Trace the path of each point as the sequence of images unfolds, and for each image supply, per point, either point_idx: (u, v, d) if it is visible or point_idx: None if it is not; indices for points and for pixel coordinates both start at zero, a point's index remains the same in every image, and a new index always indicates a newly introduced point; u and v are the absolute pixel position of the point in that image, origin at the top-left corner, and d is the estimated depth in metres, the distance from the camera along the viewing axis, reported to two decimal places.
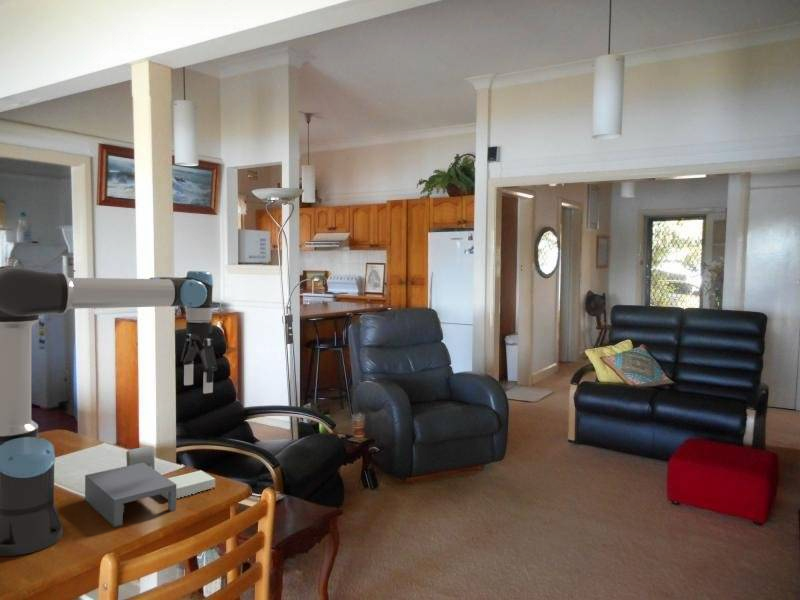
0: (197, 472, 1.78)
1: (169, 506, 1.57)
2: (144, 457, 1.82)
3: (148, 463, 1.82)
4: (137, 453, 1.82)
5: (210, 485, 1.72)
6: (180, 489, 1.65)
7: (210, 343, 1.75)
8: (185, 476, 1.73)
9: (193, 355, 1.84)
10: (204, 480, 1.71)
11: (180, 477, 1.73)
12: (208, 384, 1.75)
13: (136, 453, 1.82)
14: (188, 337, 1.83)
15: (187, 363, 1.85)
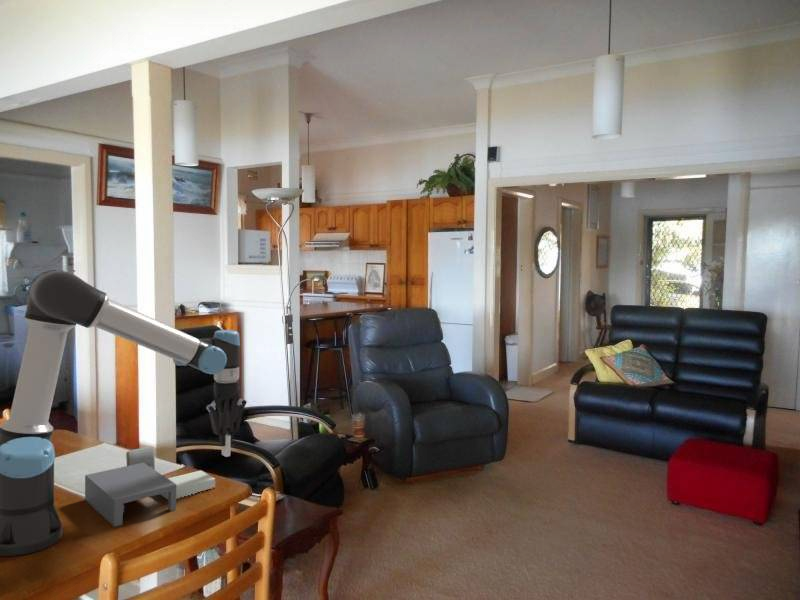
0: (197, 472, 1.78)
1: (169, 506, 1.57)
2: (144, 458, 1.81)
3: (148, 464, 1.81)
4: (137, 454, 1.81)
5: (210, 485, 1.72)
6: (180, 489, 1.65)
7: (210, 411, 1.74)
8: (185, 476, 1.73)
9: (229, 420, 1.79)
10: (204, 480, 1.71)
11: (180, 477, 1.73)
12: (223, 447, 1.79)
13: (136, 453, 1.81)
14: None
15: (227, 433, 1.80)
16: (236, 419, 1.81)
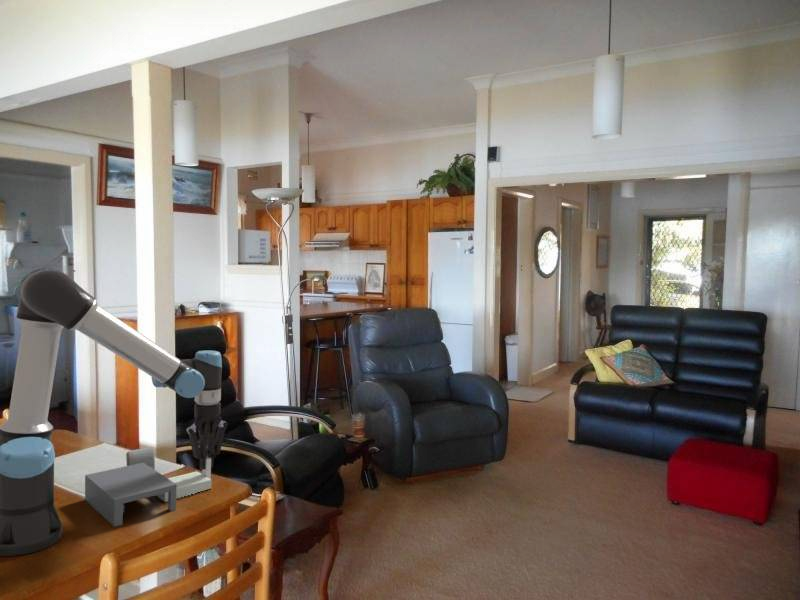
0: (193, 473, 1.77)
1: (169, 506, 1.57)
2: (144, 458, 1.81)
3: (148, 464, 1.81)
4: (137, 455, 1.81)
5: (206, 486, 1.71)
6: (176, 490, 1.64)
7: (190, 434, 1.70)
8: (181, 477, 1.72)
9: (209, 443, 1.75)
10: (200, 481, 1.70)
11: (176, 478, 1.72)
12: (204, 470, 1.75)
13: (136, 454, 1.81)
14: None
15: (208, 455, 1.76)
16: (217, 442, 1.77)
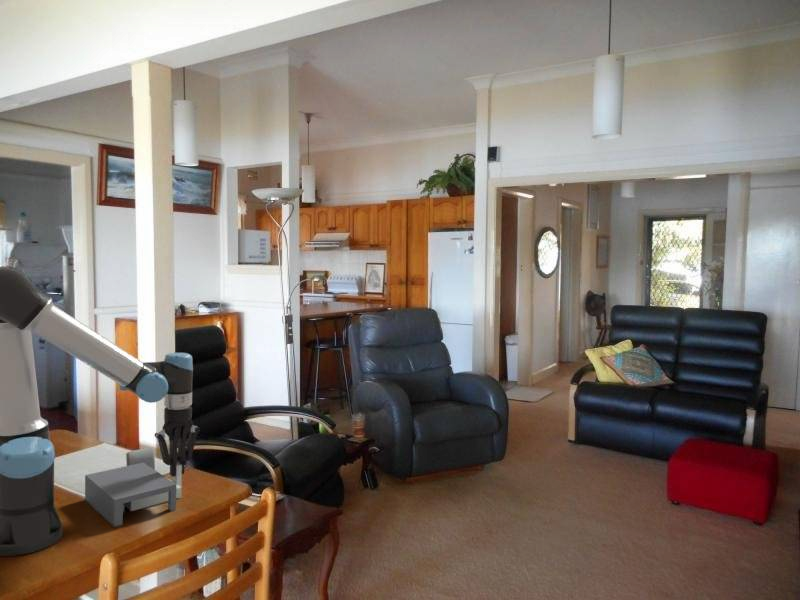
0: None
1: (169, 506, 1.57)
2: (144, 459, 1.80)
3: (148, 465, 1.81)
4: (137, 455, 1.80)
5: (176, 494, 1.64)
6: (143, 499, 1.58)
7: (159, 439, 1.64)
8: None
9: (180, 449, 1.69)
10: None
11: None
12: (174, 477, 1.68)
13: (136, 454, 1.80)
14: None
15: (179, 462, 1.69)
16: (188, 447, 1.70)
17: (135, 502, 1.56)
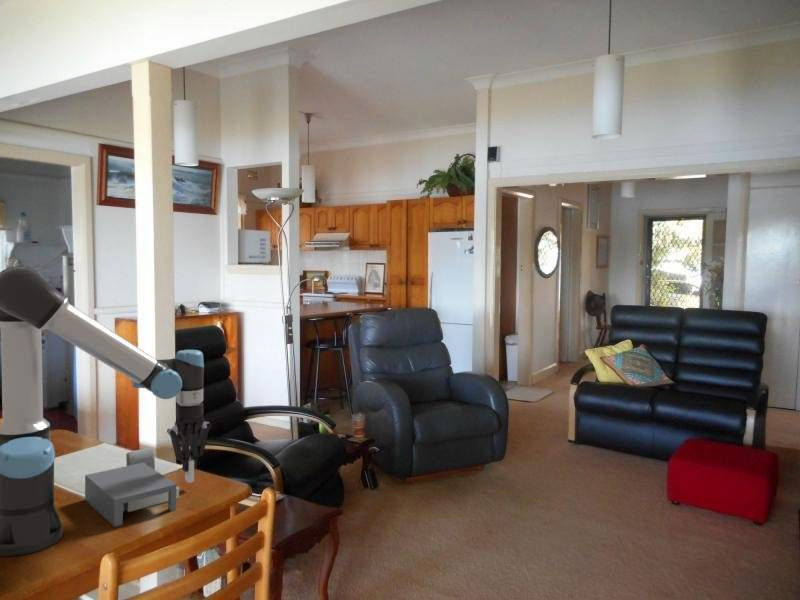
0: None
1: (169, 506, 1.57)
2: (144, 459, 1.80)
3: (148, 465, 1.80)
4: (137, 455, 1.80)
5: None
6: (140, 499, 1.57)
7: (171, 435, 1.66)
8: None
9: (192, 444, 1.71)
10: None
11: None
12: (187, 473, 1.71)
13: (136, 455, 1.80)
14: None
15: (191, 457, 1.72)
16: (200, 443, 1.73)
17: (132, 503, 1.56)
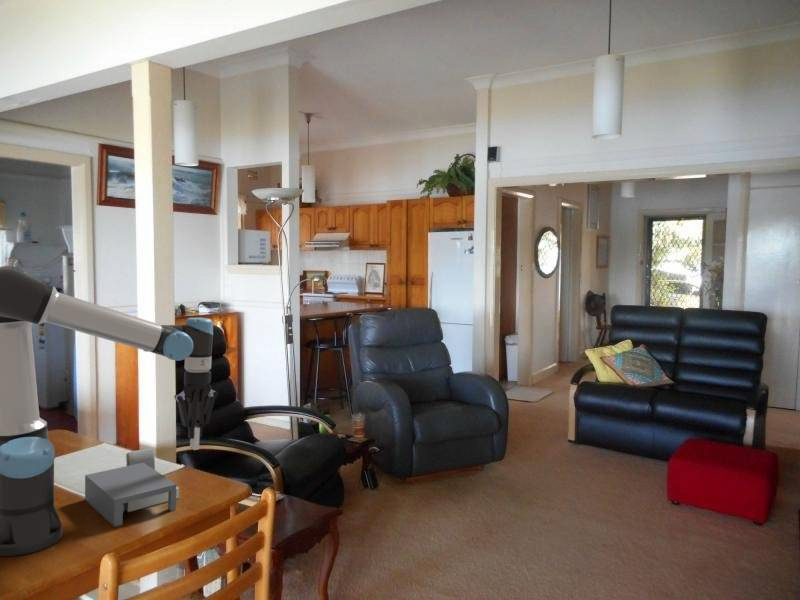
0: None
1: (169, 506, 1.57)
2: (144, 459, 1.80)
3: (148, 465, 1.80)
4: (137, 456, 1.80)
5: None
6: (140, 499, 1.57)
7: (178, 401, 1.67)
8: None
9: (199, 412, 1.72)
10: None
11: None
12: (192, 440, 1.72)
13: (136, 455, 1.80)
14: None
15: (197, 425, 1.73)
16: (206, 411, 1.74)
17: (132, 503, 1.56)
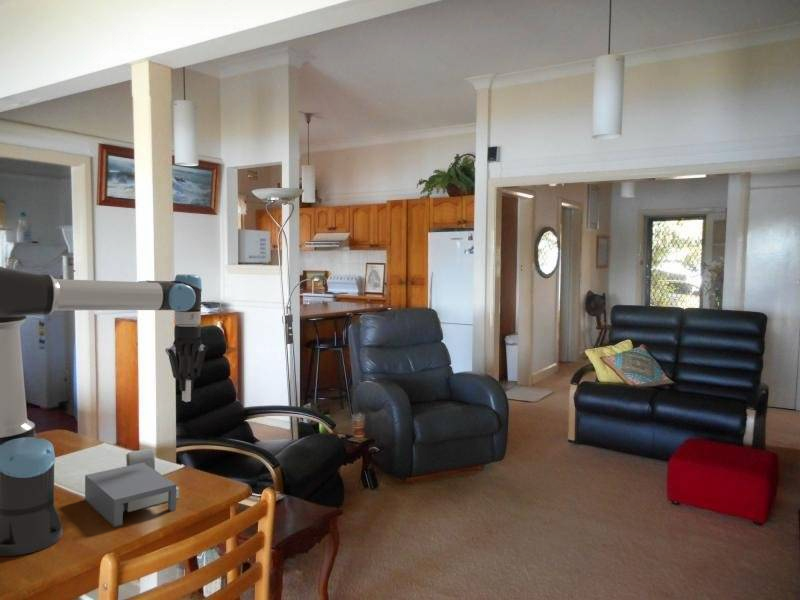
0: None
1: (169, 506, 1.57)
2: (144, 460, 1.79)
3: None
4: (137, 456, 1.79)
5: None
6: (140, 499, 1.57)
7: (169, 354, 1.73)
8: None
9: (189, 365, 1.78)
10: None
11: None
12: (184, 392, 1.78)
13: (136, 455, 1.79)
14: None
15: (188, 378, 1.79)
16: (197, 365, 1.80)
17: (132, 503, 1.56)
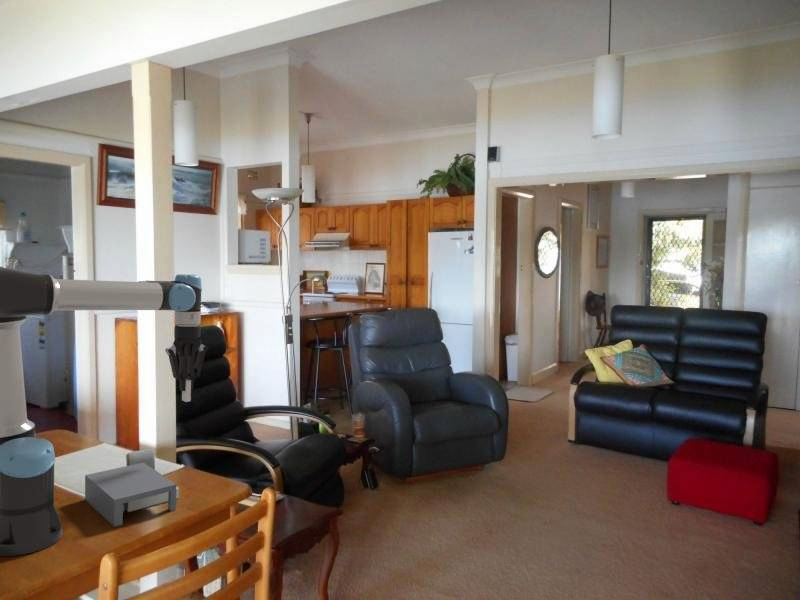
0: None
1: (169, 506, 1.57)
2: (144, 460, 1.79)
3: None
4: (137, 456, 1.79)
5: None
6: (140, 499, 1.57)
7: (169, 354, 1.73)
8: None
9: (189, 365, 1.78)
10: None
11: None
12: (184, 392, 1.78)
13: (136, 456, 1.79)
14: None
15: (188, 378, 1.79)
16: (197, 365, 1.80)
17: (132, 503, 1.56)
